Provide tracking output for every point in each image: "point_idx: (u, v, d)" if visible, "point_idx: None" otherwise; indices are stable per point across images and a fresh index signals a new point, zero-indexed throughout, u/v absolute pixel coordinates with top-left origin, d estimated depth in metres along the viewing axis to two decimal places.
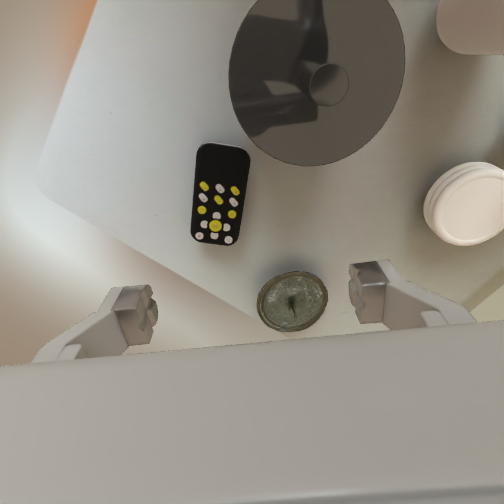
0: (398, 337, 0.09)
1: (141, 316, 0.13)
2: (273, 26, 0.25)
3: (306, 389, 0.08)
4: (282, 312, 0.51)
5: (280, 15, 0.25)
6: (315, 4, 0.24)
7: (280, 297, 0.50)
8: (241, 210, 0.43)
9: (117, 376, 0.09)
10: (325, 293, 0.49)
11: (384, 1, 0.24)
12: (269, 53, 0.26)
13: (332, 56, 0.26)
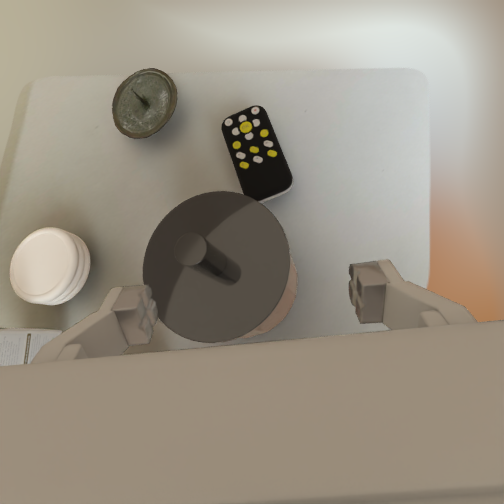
0: (398, 337, 0.09)
1: (141, 316, 0.13)
2: (264, 277, 0.29)
3: (306, 389, 0.08)
4: (147, 89, 0.49)
5: (263, 287, 0.29)
6: (241, 308, 0.29)
7: (156, 101, 0.49)
8: (230, 153, 0.44)
9: (117, 376, 0.09)
10: (120, 128, 0.49)
11: (192, 337, 0.29)
12: (258, 259, 0.30)
13: (209, 284, 0.30)
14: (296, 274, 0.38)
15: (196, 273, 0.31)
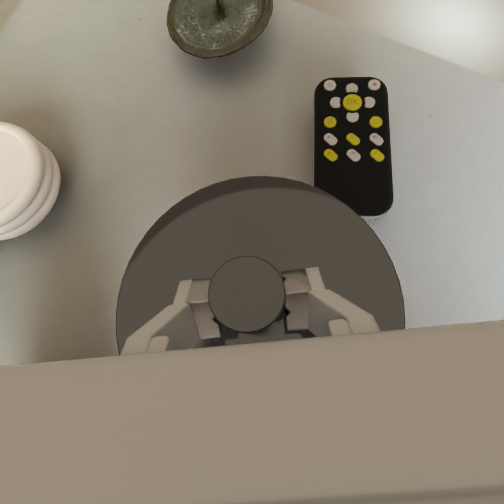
0: (398, 337, 0.09)
1: None
2: None
3: (306, 389, 0.08)
4: None
5: None
6: None
7: (237, 15, 0.33)
8: (316, 130, 0.29)
9: (117, 376, 0.09)
10: (172, 31, 0.33)
11: None
12: None
13: (236, 344, 0.16)
14: None
15: None
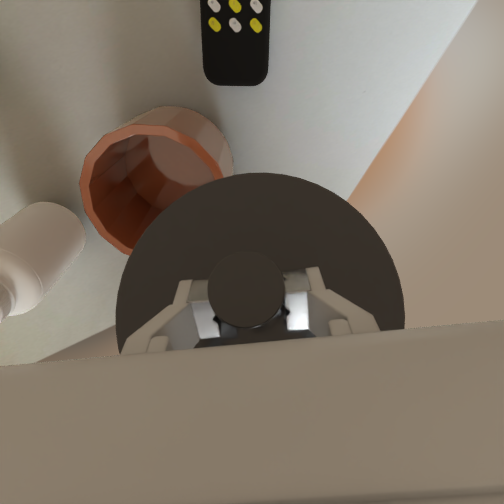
0: (398, 337, 0.09)
1: None
2: None
3: (306, 389, 0.08)
4: None
5: None
6: None
7: None
8: None
9: (117, 376, 0.09)
10: None
11: None
12: None
13: (235, 340, 0.16)
14: None
15: None
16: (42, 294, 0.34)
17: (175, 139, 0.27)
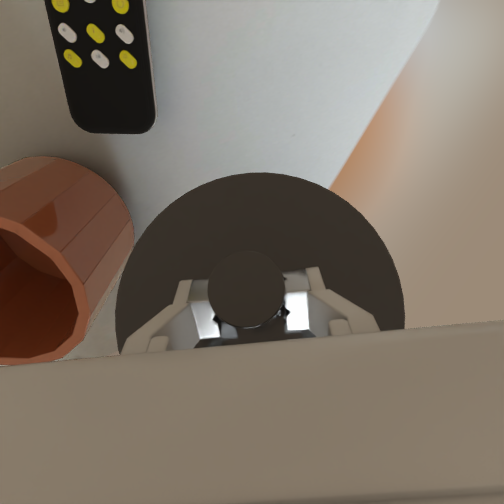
0: (398, 337, 0.09)
1: None
2: None
3: (306, 389, 0.08)
4: None
5: None
6: None
7: None
8: (48, 13, 0.22)
9: (117, 376, 0.09)
10: None
11: None
12: None
13: (235, 340, 0.16)
14: (129, 251, 0.31)
15: None
16: None
17: None
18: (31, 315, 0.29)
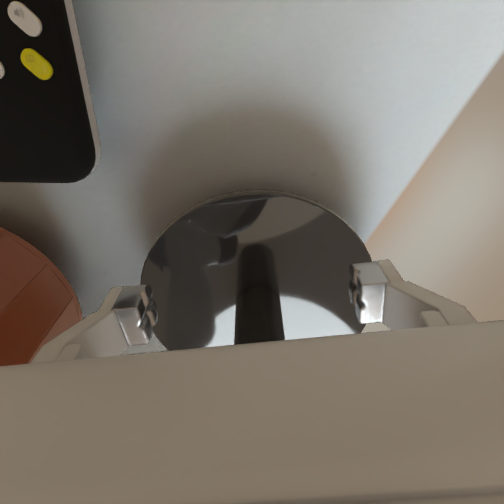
0: (398, 337, 0.09)
1: (141, 316, 0.13)
2: None
3: (306, 389, 0.08)
4: None
5: None
6: None
7: None
8: None
9: (117, 376, 0.09)
10: None
11: None
12: (322, 319, 0.21)
13: None
14: None
15: (229, 308, 0.20)
16: None
17: None
18: None
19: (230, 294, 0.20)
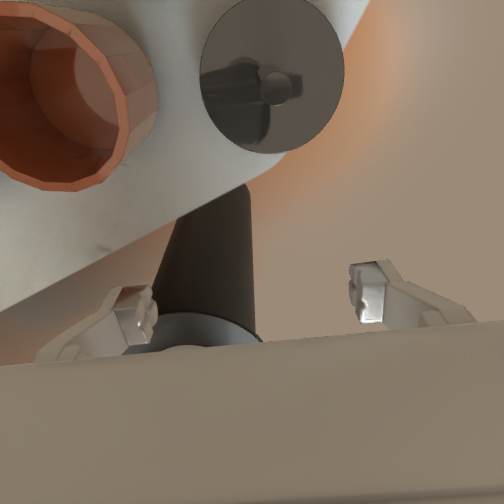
0: (398, 337, 0.09)
1: (141, 316, 0.13)
2: (310, 115, 0.34)
3: (306, 389, 0.08)
4: None
5: (305, 122, 0.35)
6: (282, 133, 0.35)
7: None
8: None
9: (117, 376, 0.09)
10: None
11: (235, 142, 0.35)
12: (311, 96, 0.33)
13: (262, 101, 0.34)
14: (155, 112, 0.33)
15: (254, 86, 0.33)
16: None
17: (48, 22, 0.22)
18: (68, 163, 0.32)
19: (255, 73, 0.32)
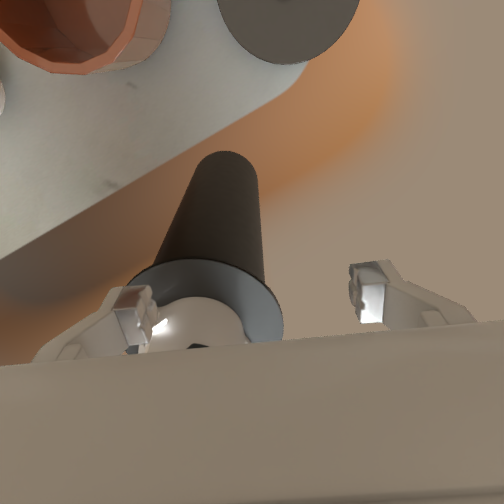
0: (398, 337, 0.09)
1: (141, 316, 0.13)
2: (328, 18, 0.33)
3: (306, 389, 0.08)
4: None
5: (324, 27, 0.33)
6: (299, 39, 0.34)
7: None
8: None
9: (117, 376, 0.09)
10: None
11: (250, 50, 0.34)
12: None
13: (279, 2, 0.32)
14: (167, 13, 0.32)
15: None
16: None
17: None
18: (77, 60, 0.30)
19: None
